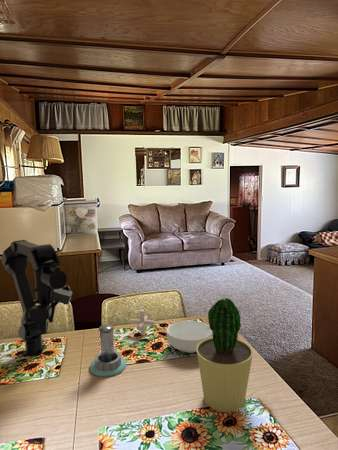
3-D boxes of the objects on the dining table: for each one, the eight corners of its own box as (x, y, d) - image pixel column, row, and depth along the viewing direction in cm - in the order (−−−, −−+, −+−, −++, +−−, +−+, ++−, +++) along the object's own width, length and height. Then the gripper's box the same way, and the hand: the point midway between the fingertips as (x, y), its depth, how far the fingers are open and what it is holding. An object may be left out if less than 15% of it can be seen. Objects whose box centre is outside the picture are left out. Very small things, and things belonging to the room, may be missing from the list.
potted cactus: (234, 377, 104) (235, 284, 100) (263, 409, 89) (265, 302, 85) (188, 388, 99) (187, 291, 95) (211, 423, 85) (210, 310, 81)
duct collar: (92, 358, 117) (91, 349, 117) (126, 355, 118) (126, 347, 118) (87, 378, 105) (87, 368, 105) (125, 375, 106) (125, 365, 106)
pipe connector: (151, 340, 129) (150, 316, 127) (127, 338, 131) (126, 314, 129) (157, 329, 138) (157, 306, 137) (134, 327, 140) (133, 305, 139)
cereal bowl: (220, 343, 126) (220, 325, 125) (199, 364, 112) (199, 344, 111) (181, 333, 135) (180, 316, 134) (158, 351, 121) (157, 332, 120)
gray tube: (98, 362, 112) (96, 326, 111) (112, 358, 115) (110, 322, 113) (103, 369, 108) (102, 331, 107) (117, 365, 111) (116, 328, 109)
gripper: (63, 290, 102) (67, 338, 104) (74, 273, 120) (77, 315, 122) (25, 292, 101) (29, 341, 102) (42, 275, 119) (45, 317, 121)
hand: (47, 327), depth 112 cm, fingers open, 9 cm apart
